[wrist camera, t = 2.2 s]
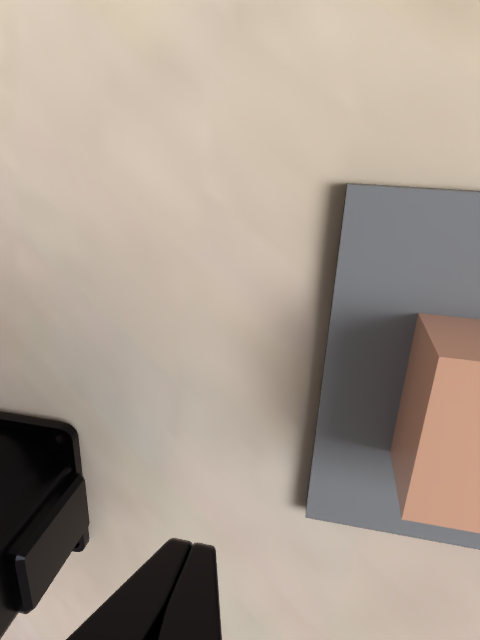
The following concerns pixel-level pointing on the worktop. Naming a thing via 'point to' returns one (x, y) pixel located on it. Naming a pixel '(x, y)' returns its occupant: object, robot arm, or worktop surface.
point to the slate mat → (386, 343)
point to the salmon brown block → (440, 425)
